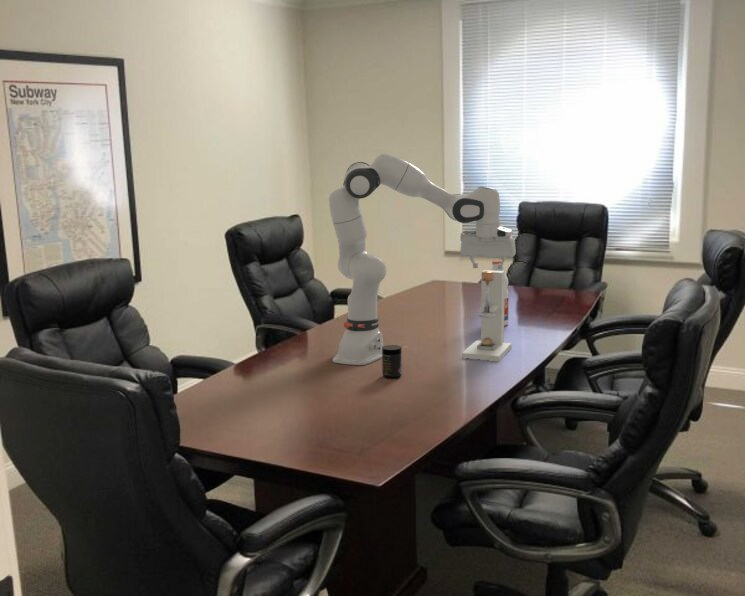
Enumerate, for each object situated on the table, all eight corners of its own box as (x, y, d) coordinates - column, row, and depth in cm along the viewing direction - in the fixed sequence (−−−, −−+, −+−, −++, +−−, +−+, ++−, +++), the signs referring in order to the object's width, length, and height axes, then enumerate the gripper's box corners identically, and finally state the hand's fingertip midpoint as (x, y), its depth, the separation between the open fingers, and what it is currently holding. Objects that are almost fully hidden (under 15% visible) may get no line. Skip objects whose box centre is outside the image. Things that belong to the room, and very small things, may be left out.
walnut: (491, 349, 300) (491, 339, 299) (480, 348, 301) (480, 338, 300) (493, 347, 303) (493, 336, 302) (483, 346, 305) (483, 336, 304)
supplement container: (399, 380, 271) (398, 350, 269) (380, 378, 273) (379, 349, 271) (404, 374, 277) (403, 345, 275) (385, 373, 279) (384, 344, 277)
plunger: (493, 318, 296) (493, 273, 293) (477, 317, 298) (477, 273, 295) (497, 315, 301) (497, 271, 298) (481, 314, 304) (481, 270, 300)
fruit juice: (499, 321, 355) (500, 258, 350) (512, 325, 347) (513, 261, 341) (482, 323, 351) (482, 260, 346) (494, 327, 343) (495, 263, 337)
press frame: (499, 361, 291) (499, 280, 285) (461, 358, 296) (461, 278, 290) (511, 348, 309) (512, 271, 303) (476, 345, 314) (476, 269, 308)
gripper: (458, 231, 295) (458, 268, 297) (513, 232, 287) (512, 270, 290) (462, 229, 300) (463, 266, 303) (516, 230, 293) (516, 268, 295)
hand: (487, 268), depth 296 cm, fingers open, 8 cm apart
